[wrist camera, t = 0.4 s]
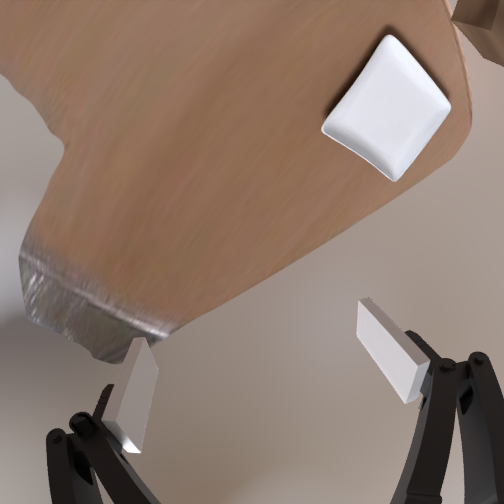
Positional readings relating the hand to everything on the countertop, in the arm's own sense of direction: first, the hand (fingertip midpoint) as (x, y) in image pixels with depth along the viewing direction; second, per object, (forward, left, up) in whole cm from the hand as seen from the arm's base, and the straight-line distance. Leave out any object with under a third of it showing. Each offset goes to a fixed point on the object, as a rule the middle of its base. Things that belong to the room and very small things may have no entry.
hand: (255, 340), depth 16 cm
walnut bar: (-17, +32, -5) cm, 36 cm away
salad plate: (+12, +27, -34) cm, 45 cm away
